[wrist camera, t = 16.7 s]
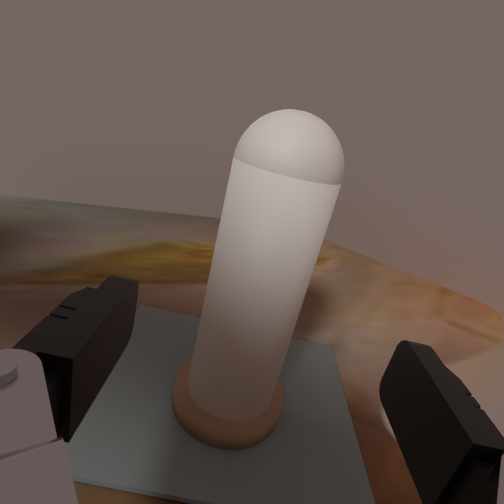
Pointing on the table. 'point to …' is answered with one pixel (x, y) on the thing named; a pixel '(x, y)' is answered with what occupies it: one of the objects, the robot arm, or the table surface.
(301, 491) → the mat
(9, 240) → the table surface
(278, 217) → the skittle
